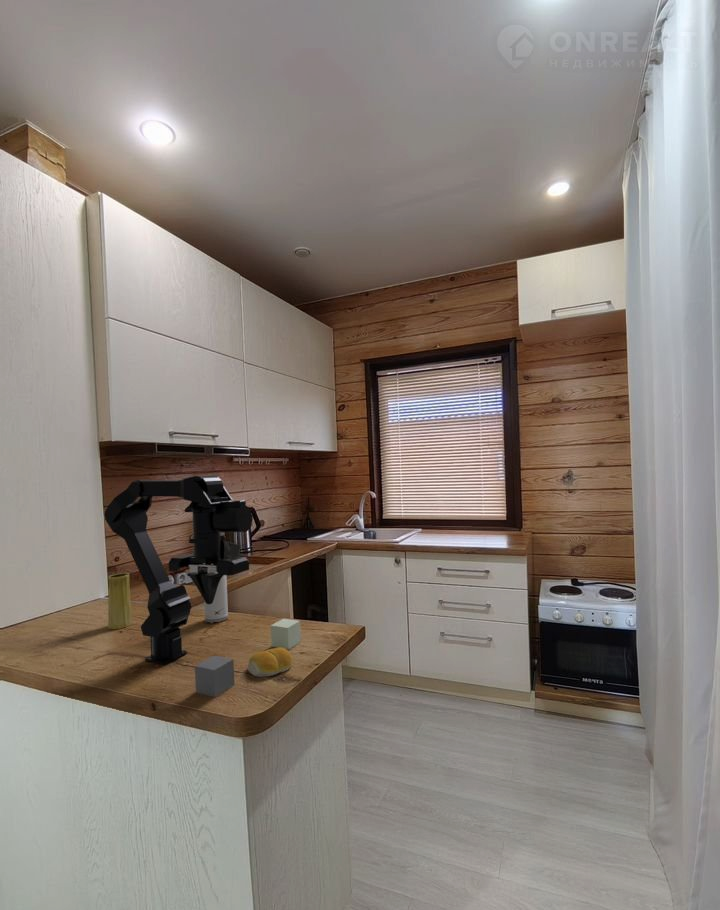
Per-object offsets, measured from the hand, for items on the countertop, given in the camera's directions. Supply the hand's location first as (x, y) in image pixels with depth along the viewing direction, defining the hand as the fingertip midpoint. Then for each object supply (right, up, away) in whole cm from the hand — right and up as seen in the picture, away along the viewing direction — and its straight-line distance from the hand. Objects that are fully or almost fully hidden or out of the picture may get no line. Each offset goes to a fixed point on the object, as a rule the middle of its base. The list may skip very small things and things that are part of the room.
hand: (209, 603), depth 96 cm
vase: (-35, -16, +28) cm, 48 cm away
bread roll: (+14, -13, -4) cm, 19 cm away
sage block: (+15, -13, +9) cm, 22 cm away
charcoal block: (+5, -12, -12) cm, 18 cm away
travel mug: (-8, -15, +29) cm, 34 cm away
